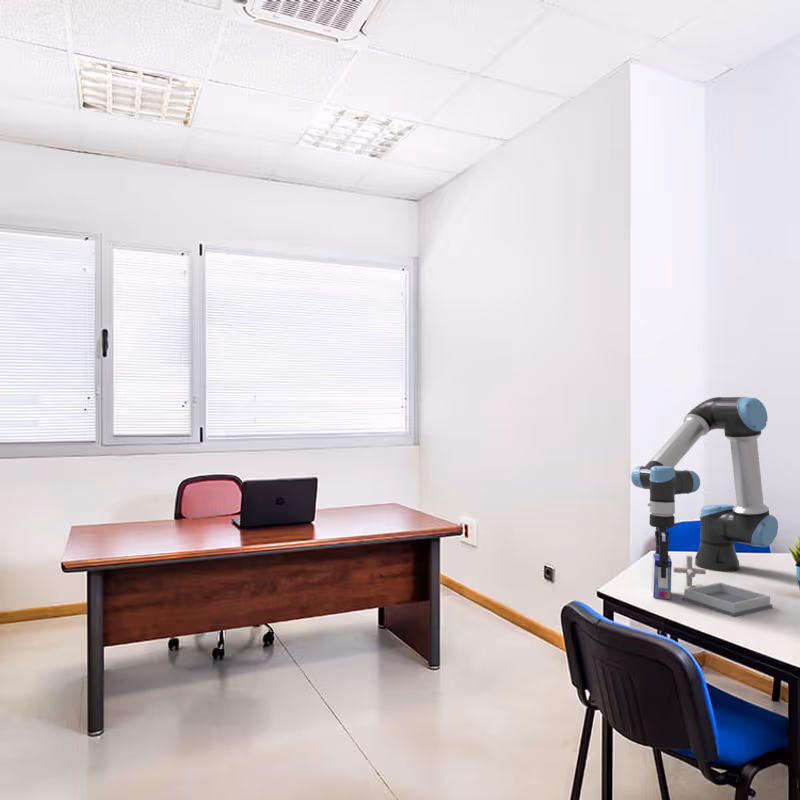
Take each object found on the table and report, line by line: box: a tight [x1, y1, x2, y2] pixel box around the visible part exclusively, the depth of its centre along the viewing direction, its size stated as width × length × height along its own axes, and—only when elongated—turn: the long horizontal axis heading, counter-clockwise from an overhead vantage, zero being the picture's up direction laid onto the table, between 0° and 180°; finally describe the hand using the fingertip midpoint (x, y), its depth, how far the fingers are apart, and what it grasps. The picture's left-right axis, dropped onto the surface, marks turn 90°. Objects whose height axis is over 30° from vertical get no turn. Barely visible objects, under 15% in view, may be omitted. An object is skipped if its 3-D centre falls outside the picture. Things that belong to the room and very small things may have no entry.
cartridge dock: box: [681, 582, 774, 618], centre depth 205 cm, size 18×18×4 cm
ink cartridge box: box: [651, 553, 673, 600], centre depth 214 cm, size 10×6×14 cm, turn 163°
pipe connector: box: [672, 555, 706, 587], centre depth 225 cm, size 10×10×10 cm
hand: (661, 583), depth 214 cm, fingers closed on ink cartridge box, 10 cm apart
